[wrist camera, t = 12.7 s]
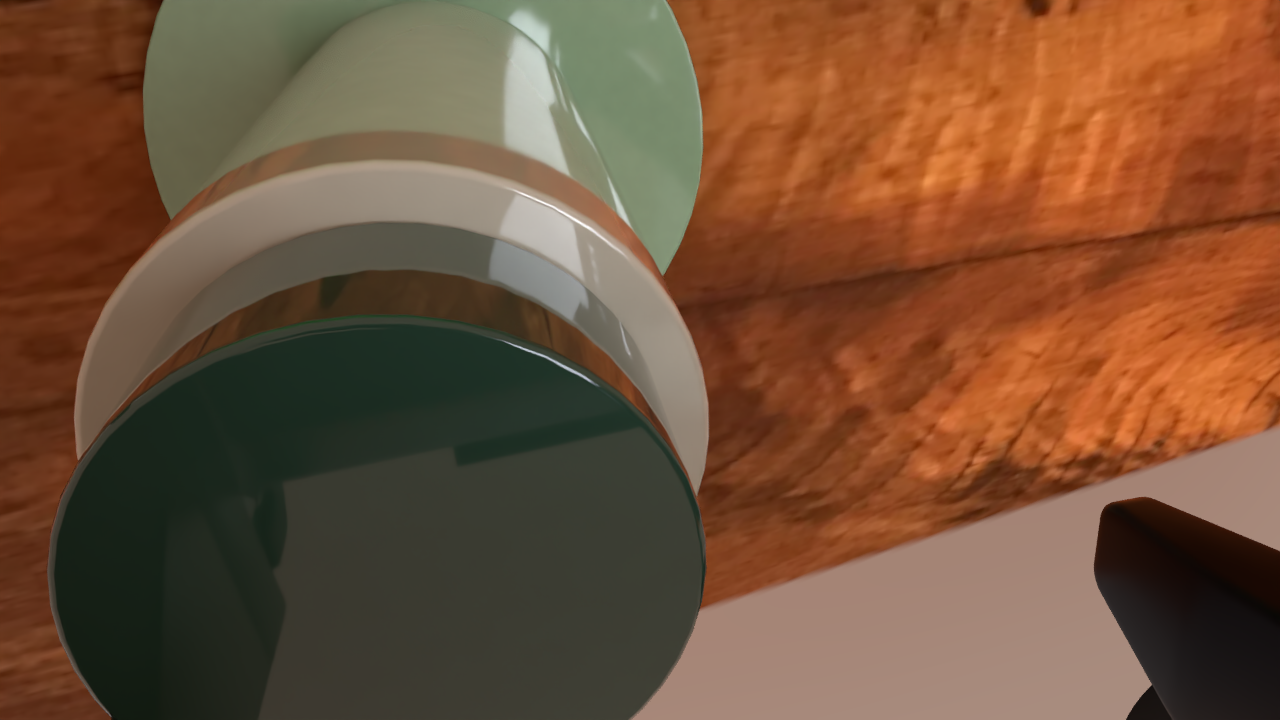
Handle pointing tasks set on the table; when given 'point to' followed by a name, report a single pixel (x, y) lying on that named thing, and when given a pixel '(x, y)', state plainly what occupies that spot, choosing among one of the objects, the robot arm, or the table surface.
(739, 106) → the table surface
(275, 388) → the jar
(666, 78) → the coaster
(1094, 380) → the table surface
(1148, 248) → the table surface
